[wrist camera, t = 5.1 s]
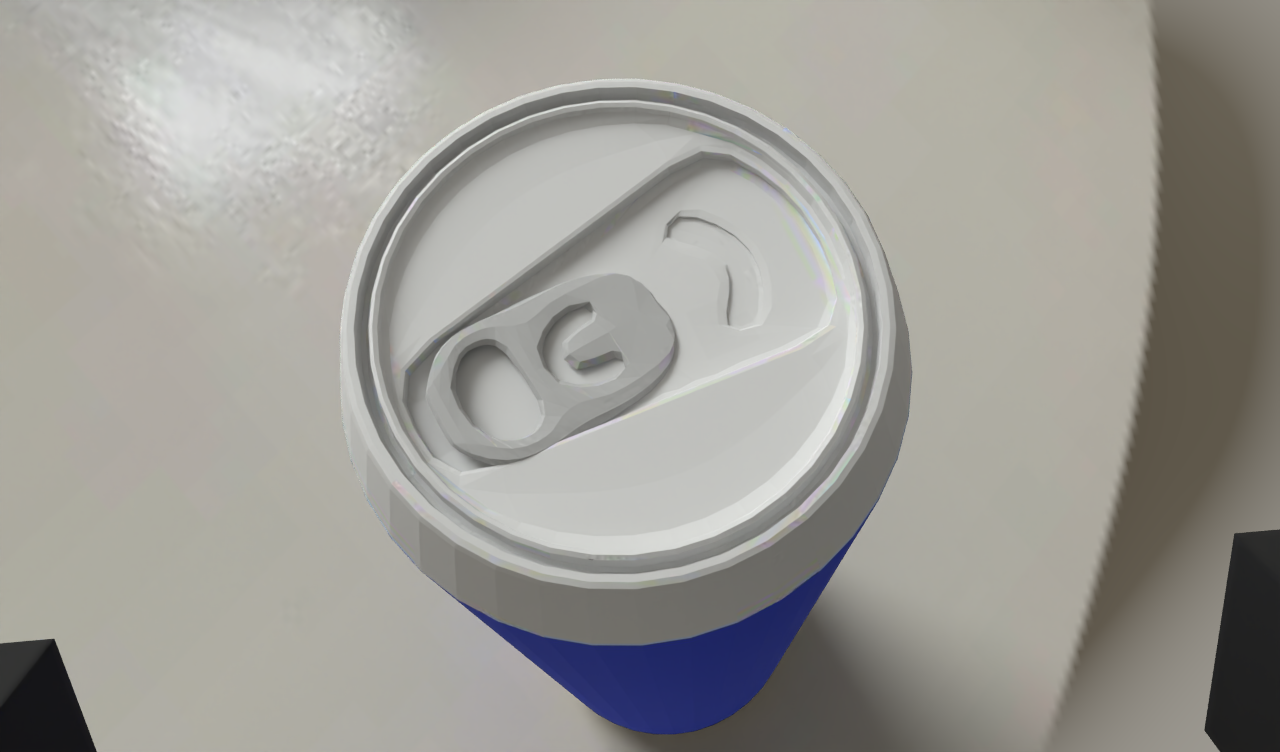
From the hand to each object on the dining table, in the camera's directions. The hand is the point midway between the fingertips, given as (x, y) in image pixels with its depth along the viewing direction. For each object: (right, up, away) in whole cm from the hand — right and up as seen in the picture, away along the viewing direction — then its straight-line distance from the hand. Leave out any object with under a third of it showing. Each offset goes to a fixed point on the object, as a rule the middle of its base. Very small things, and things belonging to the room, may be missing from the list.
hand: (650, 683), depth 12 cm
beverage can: (0, -1, +11) cm, 11 cm away
